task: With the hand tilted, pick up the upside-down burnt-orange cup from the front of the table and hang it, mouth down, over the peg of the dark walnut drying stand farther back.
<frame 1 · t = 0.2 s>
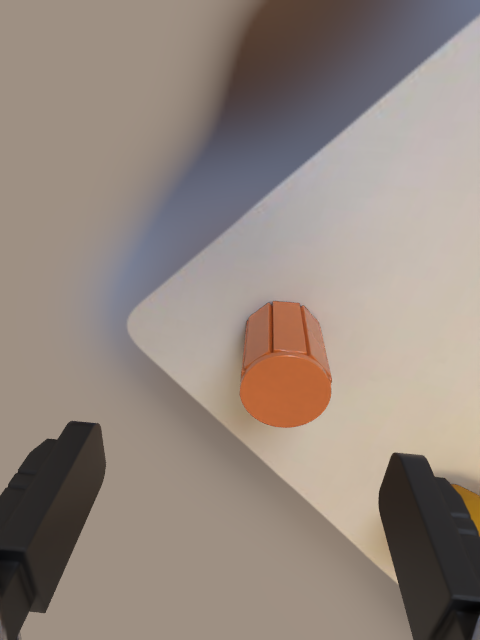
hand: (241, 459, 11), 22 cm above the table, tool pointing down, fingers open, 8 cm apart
apple: (441, 494, 43), on the table
orange cup: (282, 334, 34), on the table
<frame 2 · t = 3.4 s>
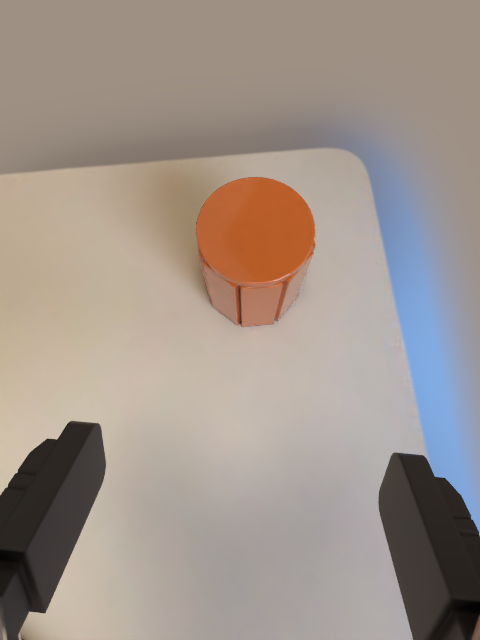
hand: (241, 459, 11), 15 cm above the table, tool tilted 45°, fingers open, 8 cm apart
orange cup: (252, 283, 29), on the table
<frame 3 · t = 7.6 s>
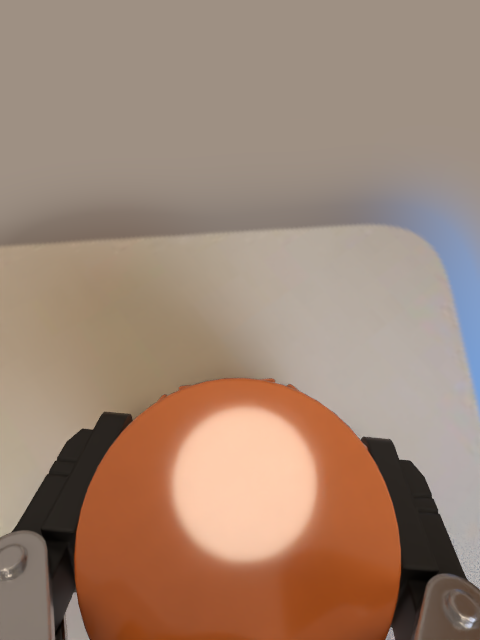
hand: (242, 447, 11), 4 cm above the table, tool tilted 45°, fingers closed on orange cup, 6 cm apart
orange cup: (239, 489, 15), on the table, touching gripper
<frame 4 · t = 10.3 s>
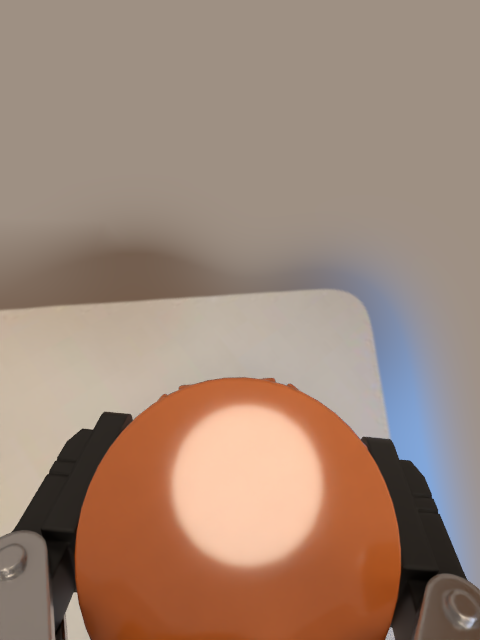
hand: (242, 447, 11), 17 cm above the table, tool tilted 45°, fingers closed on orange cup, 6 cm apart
orange cup: (239, 489, 15), point 12 cm above the table, touching gripper
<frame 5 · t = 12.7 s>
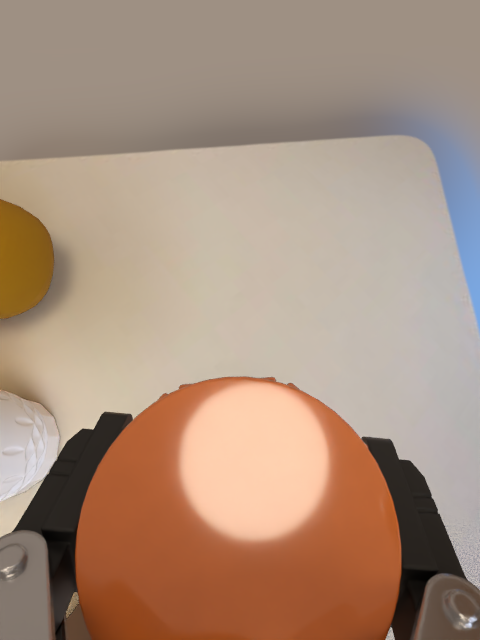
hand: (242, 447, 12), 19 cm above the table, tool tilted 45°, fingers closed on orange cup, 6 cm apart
white cup: (16, 445, 30), on the table
apple: (26, 284, 33), on the table
orange cup: (239, 488, 15), point 14 cm above the table, touching gripper
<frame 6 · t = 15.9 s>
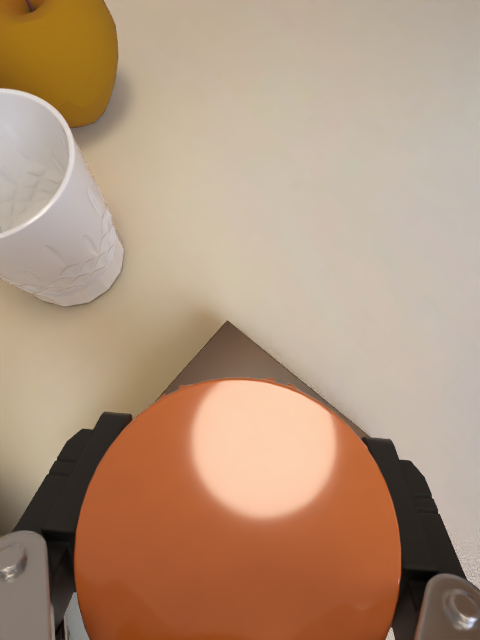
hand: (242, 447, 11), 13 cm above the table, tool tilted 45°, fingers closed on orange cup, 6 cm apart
white cup: (75, 260, 27), on the table
apple: (80, 107, 31), on the table
cup stand: (239, 470, 23), on the table
orange cup: (239, 489, 15), point 8 cm above the table, touching gripper
when the fingers open (6 cm above the table, at t = 18.2 s): orange cup stays where it is, resting on cup stand.
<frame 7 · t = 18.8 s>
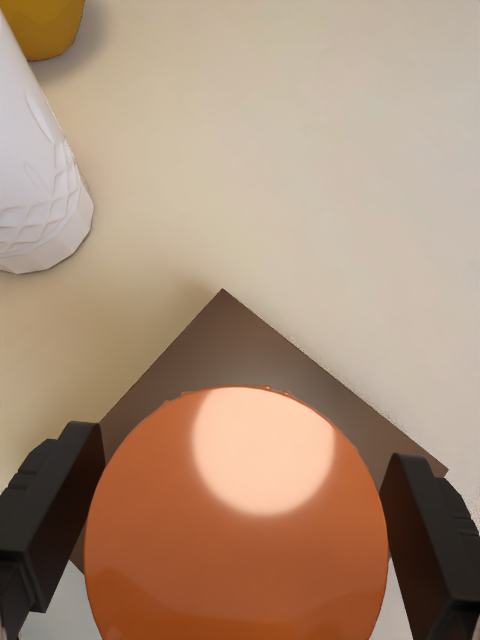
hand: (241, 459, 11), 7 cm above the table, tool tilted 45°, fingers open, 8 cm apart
white cup: (33, 218, 22), on the table
apple: (46, 40, 25), on the table
cup stand: (237, 483, 18), on the table
orange cup: (238, 489, 16), point 2 cm above the table, touching cup stand
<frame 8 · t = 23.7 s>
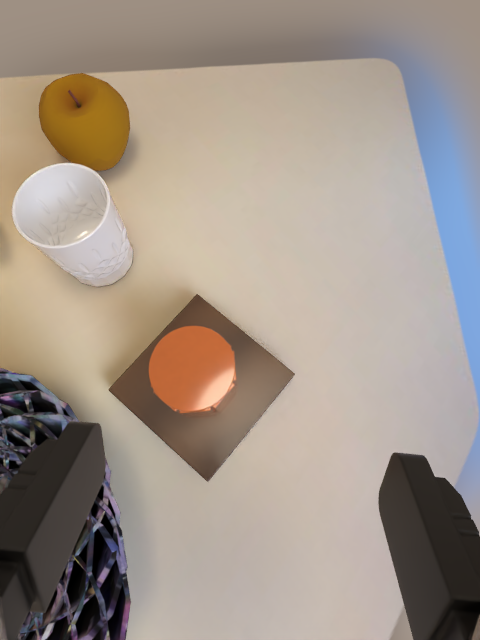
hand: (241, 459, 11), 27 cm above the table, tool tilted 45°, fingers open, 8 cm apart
white cup: (102, 258, 42), on the table
decorative bowl: (0, 533, 35), on the table
apple: (103, 156, 46), on the table
cup stand: (204, 384, 38), on the table
orange cup: (202, 382, 36), point 2 cm above the table, touching cup stand
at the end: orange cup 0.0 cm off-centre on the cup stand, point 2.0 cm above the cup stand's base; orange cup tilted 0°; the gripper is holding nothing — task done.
